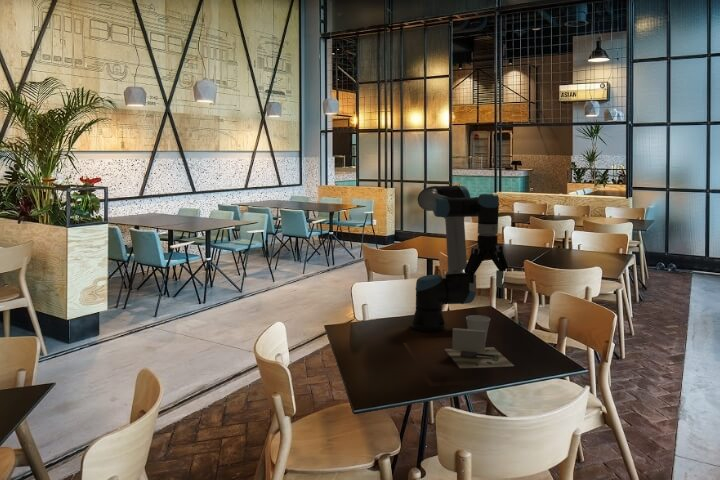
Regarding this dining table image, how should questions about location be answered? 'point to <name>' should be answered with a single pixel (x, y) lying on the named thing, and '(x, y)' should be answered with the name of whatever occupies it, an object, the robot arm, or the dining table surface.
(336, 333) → the dining table surface
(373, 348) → the dining table surface
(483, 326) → the cup
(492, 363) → the board
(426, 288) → the robot arm
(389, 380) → the dining table surface
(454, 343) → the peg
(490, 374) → the dining table surface
